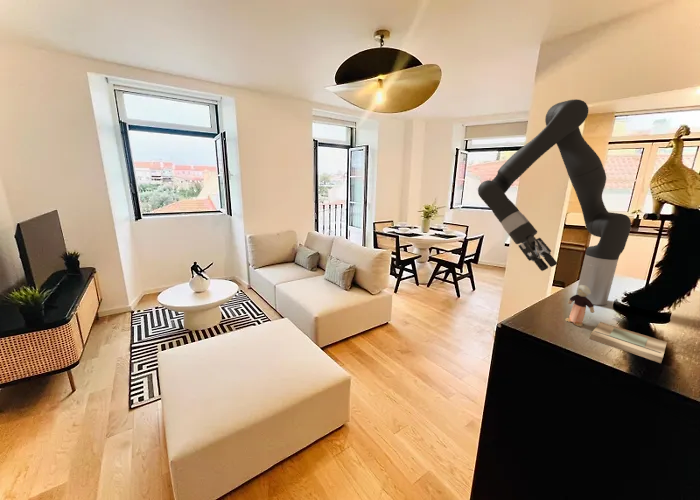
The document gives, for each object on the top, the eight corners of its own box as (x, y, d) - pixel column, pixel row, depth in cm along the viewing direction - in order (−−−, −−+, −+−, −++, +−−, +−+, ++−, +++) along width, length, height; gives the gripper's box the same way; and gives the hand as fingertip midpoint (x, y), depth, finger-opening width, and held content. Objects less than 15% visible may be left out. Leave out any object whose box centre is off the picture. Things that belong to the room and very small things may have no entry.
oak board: (599, 326, 88) (600, 321, 88) (665, 347, 78) (667, 341, 77) (589, 338, 81) (590, 333, 80) (660, 363, 70) (662, 357, 70)
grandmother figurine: (559, 319, 92) (567, 282, 89) (565, 317, 94) (573, 280, 91) (587, 330, 85) (597, 290, 82) (593, 328, 87) (603, 288, 84)
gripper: (519, 222, 92) (553, 265, 86) (536, 219, 101) (568, 258, 95) (500, 235, 97) (531, 277, 91) (517, 232, 106) (546, 269, 100)
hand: (550, 267), depth 93 cm, fingers open, 8 cm apart
